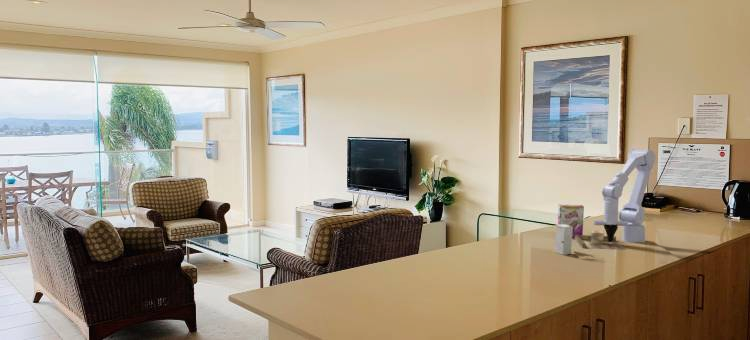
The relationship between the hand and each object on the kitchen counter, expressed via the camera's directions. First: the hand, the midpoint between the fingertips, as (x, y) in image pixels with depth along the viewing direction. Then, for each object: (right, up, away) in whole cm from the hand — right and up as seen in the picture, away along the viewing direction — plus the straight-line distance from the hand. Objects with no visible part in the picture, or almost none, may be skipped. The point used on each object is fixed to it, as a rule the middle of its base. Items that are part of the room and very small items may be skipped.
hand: (610, 241), depth 266 cm
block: (-5, -1, +2) cm, 6 cm away
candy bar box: (-12, -1, +18) cm, 22 cm away
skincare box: (-26, -4, -15) cm, 30 cm away
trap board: (-5, -2, -1) cm, 6 cm away
